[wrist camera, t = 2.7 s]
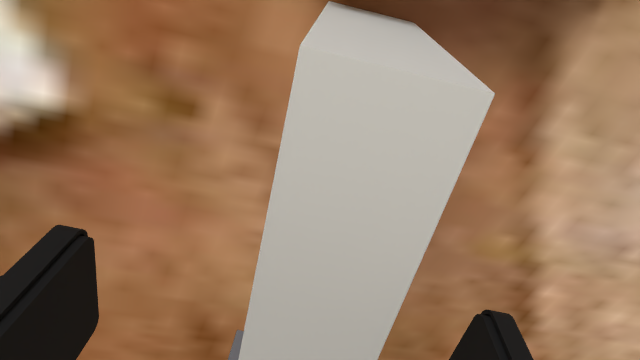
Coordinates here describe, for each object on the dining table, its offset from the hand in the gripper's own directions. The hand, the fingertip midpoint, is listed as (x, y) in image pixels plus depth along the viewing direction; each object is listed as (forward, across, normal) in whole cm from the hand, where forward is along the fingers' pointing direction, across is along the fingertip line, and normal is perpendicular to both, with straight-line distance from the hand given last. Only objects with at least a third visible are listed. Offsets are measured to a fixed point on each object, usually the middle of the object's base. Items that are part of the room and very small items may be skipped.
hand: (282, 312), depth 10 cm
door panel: (+8, -1, +1) cm, 8 cm away
